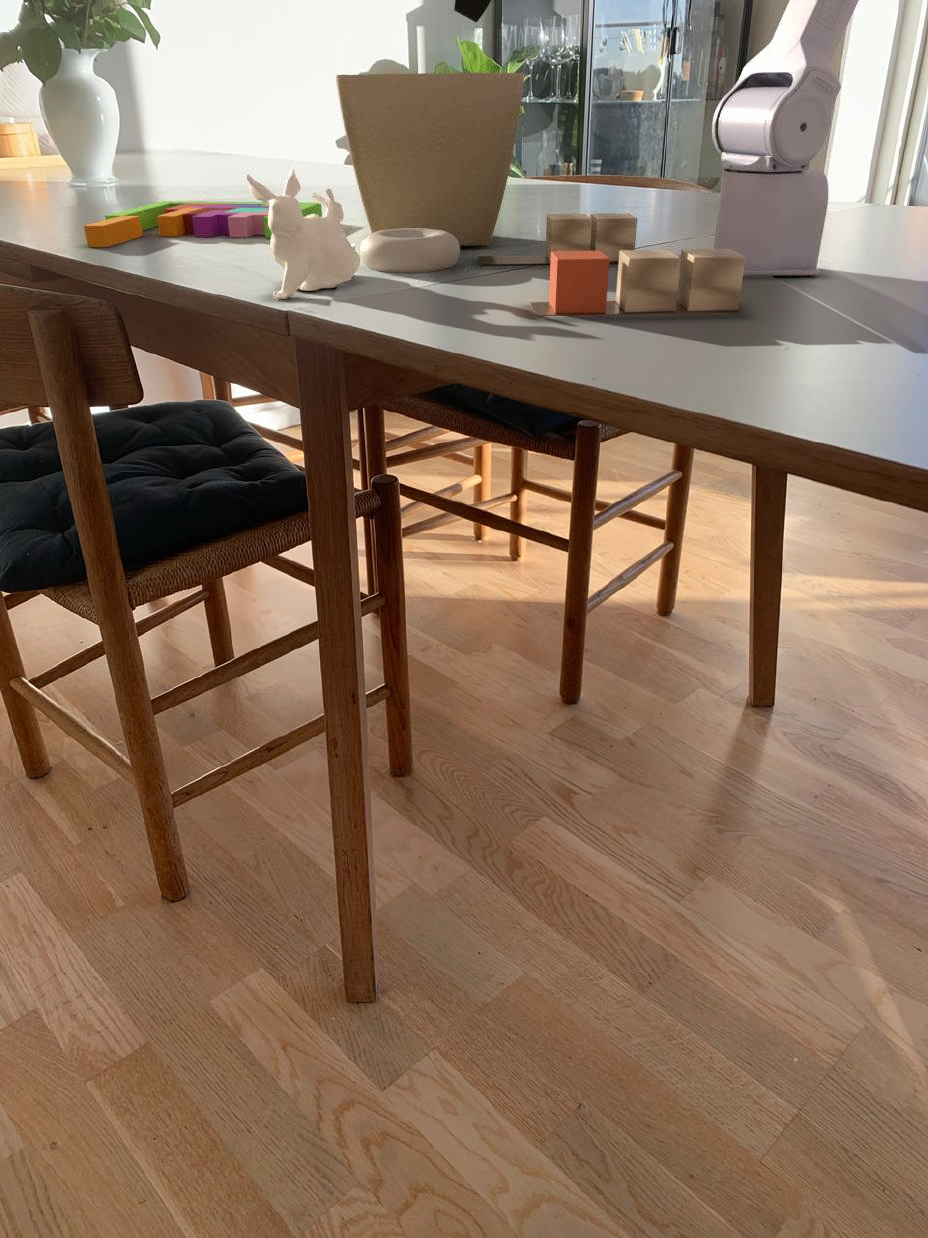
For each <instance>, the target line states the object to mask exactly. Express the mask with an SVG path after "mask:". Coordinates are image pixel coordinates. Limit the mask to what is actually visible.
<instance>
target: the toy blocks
mask: <svg viewBox="0 0 928 1238" xmlns="http://www.w3.org/2000/svg"><path fill="white" fill-rule="evenodd" d="M298 202H299V201H298ZM299 204H300V207H301V211H302V214H303V217H306V216H308V215H311V214H315V215H318V216H320V217H322V216H323V209H322V205H321V204H319V203H317V202H312V201H311V202H305V201H304V202H299ZM269 209H270V206H269V205H268V204H266V203H264V202H262V201H208V200H207V201H205V200H204V201H203V200H202V201H198V200H197V201H194V200H191V201H189V200H187V201H186V200H184V201H183V200H161V201H158V202H153V203H149V204H146V205H145V204H144V205H142V206H138V207H133V208H129V209H125V210H122V211H117V212H114V213H109V214H105V215H104V218H105V219H104V220H100V221H96V222H93V223H89V224H85V225H83V230H84V235H85V239H86V243H87V247H88V248H109V247H112V246H115V245H118V244H122V243H124V242H127V241H131V240H135V239H138V238H140V237H141V238H142V237H143V236H144V234H143V231H146V230H150V229H152V228H156V227H158V232H159V237H179V236H183V235H194V238H214V237H217V236H219V235H229V238H250V237H253V236H265V239H271V236H272V232H271V230H270V228H269V225H268V215H269Z"/></svg>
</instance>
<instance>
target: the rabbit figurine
mask: <svg viewBox="0 0 928 1238" xmlns="http://www.w3.org/2000/svg"><path fill="white" fill-rule="evenodd" d="M245 178H246V181H247V182H248V186H249V190H250V193H251V195H252V196H253V198H255V199H256V200H257V201H259V202H264V203H266V204H268V205H269V206H270V209H269V215H268V225H269V228H270V230H271V232H272V236H271V238H270V251H271V255H272V256H273V259H274V260H275V262H276V263H277V264H278V265H279V266H280V267H282V268H283V269H284V274H283V280H282V285H281V290H278V291H274V292H273V293H272V295H273V296H272V299H274V300H276V299H278V300H281V299H283V300H286V299H288V298H289V297H293V296H294V295H295V293H296V292H297V290H300V291H304V292H305V291H317V290H320V289H333V288H338V286H339V284H341V283H344V282H348V281H351V280H352V278H353V277H352V276H354V275H355V274H356V272H357V271H358V270H359V268H360V264H361V256H360V254H359V253H358V252H357V251H356V245H355V243H352V244H351V243H350V241H349V240H348V238H347V234H346V232H345V230H344V228H343V225H342V224H341V222H343V221H344V217H345V215H344V211H343V207H342V204H341V203H340V202H338V201H335V196H334V193H333V190H332V189H331V188H326V189H325V192H326V197H327V198H328V199H326V198H325V197H323V196H321V195H320V194H317V193H316V192H313V193H312V200H313V201H314V203H319V204H321V206H323V207H325V208H326V211H325V214H324V215H322V217H320V216H318V215H315V214H311V215H308V216H306V217H303V214H302V211H301V207H300V204H299V201H298V199H297V198H296V196H297V195H298V194H299V193H300V191H301V189H302V187H301V184H300V182H299V179H298V178H297V175H296V174H295V168H294V167H292V168H291V169H290V171H289V175H288V177H287V179H286V182H285V186H284V189H283V193H282V195H280V196H279V195H278V196H277V195H276V194H274V193H273V192H272V191H271V190H270V189H269V188H267V187H266V186H265V185H263V184H262V183H261V182H258V181H256V180H255V179H254V178H253V177H252V176H251V175H250V174H248V173H247V174H246V175H245Z"/></svg>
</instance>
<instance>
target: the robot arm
mask: <svg viewBox="0 0 928 1238" xmlns="http://www.w3.org/2000/svg"><path fill="white" fill-rule="evenodd" d="M859 1H860V0H789V1H788V3H787V5H786V8H785V10H784V11H783V15H782V16H781V19H780V21H779V24H778V26H777V27H776V30H775V33H774V35H773V37H772V39H771V41H770V42H769V43H768V44H767V45H766V46H765V47H764V48H763V49H762V50H761V51H760V52H758V53H757V54H756V55H755V56H754V57H752V59H750V60H749V62H747V63H746V64H745V66H743V68H742V71H741V74H740V75H739V78H738V80H737V81H736V83H735V84H734V86H732V88H731V89H730V90H729V91H728V92H727V93H726V94H725V95H723V97H722V99H721V100H720V101H719V103H718V105H717V107H716V108H715V110H714V111H715V112H714V114H713V117H712V124H711V136H712V137H711V138H712V142H713V144H714V148H715V149H716V151H717V152H718V154H720V156H721V157H720V167H722V168H723V170H722V177H721V185H720V193H719V200H718V210H717V217H716V225H715V233H714V240H713V241H714V242H713V249H732V250H734V251H735V252H737V253H739V254H741V255H743V256H745V257H746V258H745V265H744V272H743V276H744V275H748V276H749V275H751V276H752V275H768V276H770V277H778V276H779V277H780V276H781V277H784V276H785V277H786V276H788V277H789V276H790V277H791V276H818V275H819V273H820V270H819V269H818V268H817V267H818V261H819V255H820V250H821V244H822V239H823V233H824V228H825V221H826V215H827V210H828V206H829V181H828V178H827V176H826V174H825V172H823V170H819V169H810V164H811V161H812V160H813V159H815V157H816V156H817V155H818V153H820V152H821V150H822V148H823V146H824V145H825V142H826V140H827V139H828V135H829V133H830V127H831V122H832V121H831V120H832V112H833V109H834V105H835V103H836V100H837V97H838V95H839V93H840V91H841V88H842V85H841V81H840V79H839V77H838V76H837V73H836V71H835V69H834V67H833V65H832V62H831V61H832V59H833V57H834V55H835V53H836V50H837V48H838V46H839V44H840V42H841V41H842V38H843V36H844V34H845V32H846V31H845V30H846V29H847V27H848V25H849V22H850V20H851V18H852V16H853V14H854V12H855V10H856V7H857V6H858V4H859ZM491 2H492V0H454V6H453V7H454V8H453V10H454V11H455V12H456V13H458V14H460V15H461V16H463V17H465V18H467V19H469V20H470V21H472V22H474V23H477V22H479V21H480V19H481V18H482V16H483V15H484V13H485V12H486V10H487V9H488V7H489V6H490V3H491Z"/></svg>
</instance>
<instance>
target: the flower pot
mask: <svg viewBox="0 0 928 1238" xmlns="http://www.w3.org/2000/svg"><path fill="white" fill-rule="evenodd" d="M525 75H526V73H525V72H446V73H445V72H439V73H438V72H436V73H435V72H434V73H427V72H424V73H423V72H422V73H373V74H372V73H369V74H368V73H367V74H365V73H364V74H336V75H335V81H336V87H337V93H338V100H339V106H340V111H341V117H342V122H343V127H344V132H345V137H346V141H347V146H348V151H349V155H350V159H351V163H352V168H353V172H354V176H355V180H356V184H357V187H358V192H359V195H360V199H361V203H362V205H363V210H364V213H365V216H366V219H367V223H368V226H369V229H370V232H371V233H374V232H377V231H383V230H390V229H403V228H425V229H437V230H443V231H446V232H448V233H450V234H452V235H454V236H455V237H456V238H457V240H458V242H459V244H460V247H473V246H474V247H475V246H476V247H479V246H488V245H490V243H491V240H492V237H493V235H494V232H495V228H496V226H497V221H498V218H499V215H500V210H501V208H502V207H501V206H502V203H503V199H504V196H505V191H506V189H507V184H508V178H509V174H510V169H511V166H512V165H511V164H512V159H513V154H514V149H515V145H516V138H517V132H518V126H519V121H520V113H521V107H522V102H523V101H522V99H523V94H524V83H525Z"/></svg>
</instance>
